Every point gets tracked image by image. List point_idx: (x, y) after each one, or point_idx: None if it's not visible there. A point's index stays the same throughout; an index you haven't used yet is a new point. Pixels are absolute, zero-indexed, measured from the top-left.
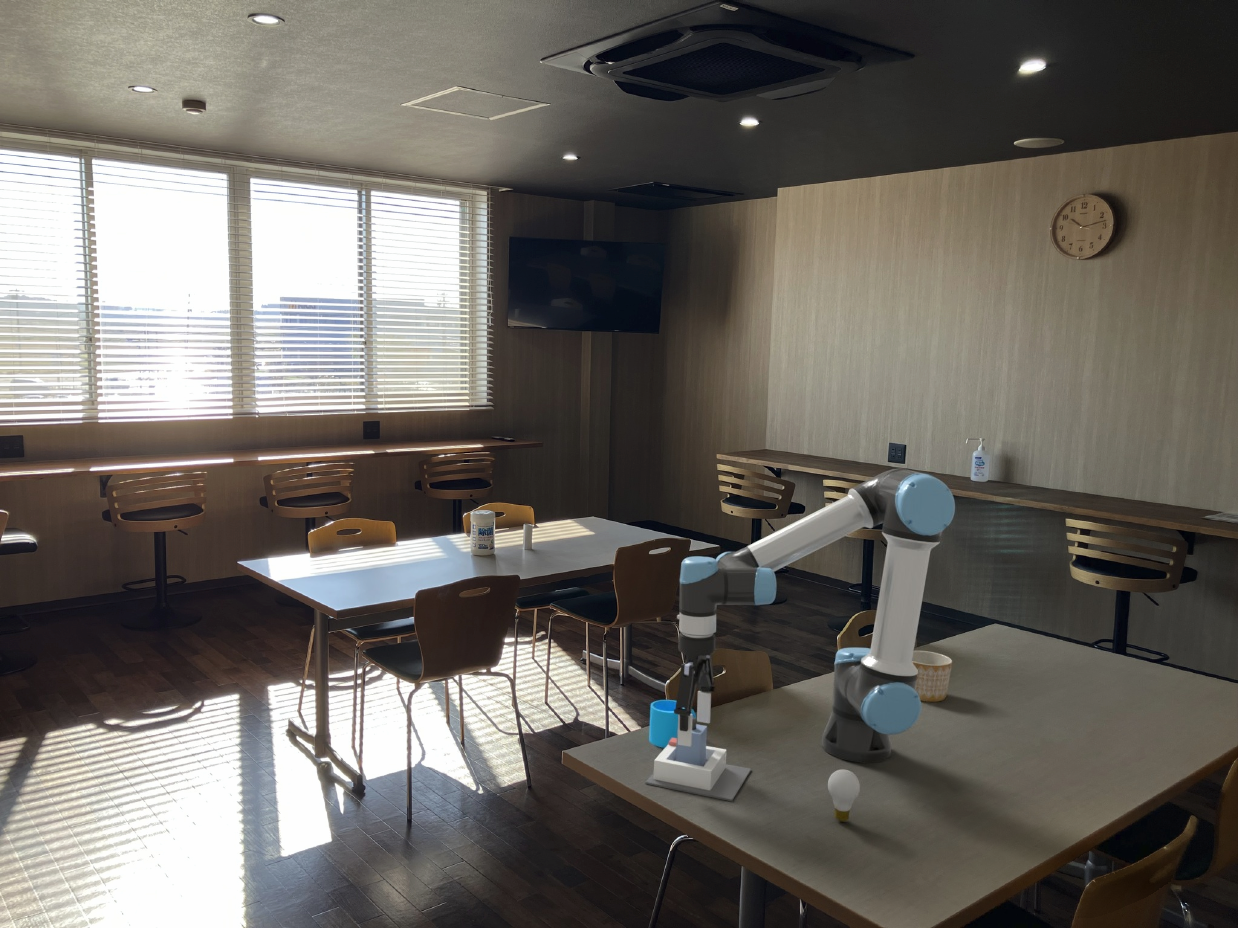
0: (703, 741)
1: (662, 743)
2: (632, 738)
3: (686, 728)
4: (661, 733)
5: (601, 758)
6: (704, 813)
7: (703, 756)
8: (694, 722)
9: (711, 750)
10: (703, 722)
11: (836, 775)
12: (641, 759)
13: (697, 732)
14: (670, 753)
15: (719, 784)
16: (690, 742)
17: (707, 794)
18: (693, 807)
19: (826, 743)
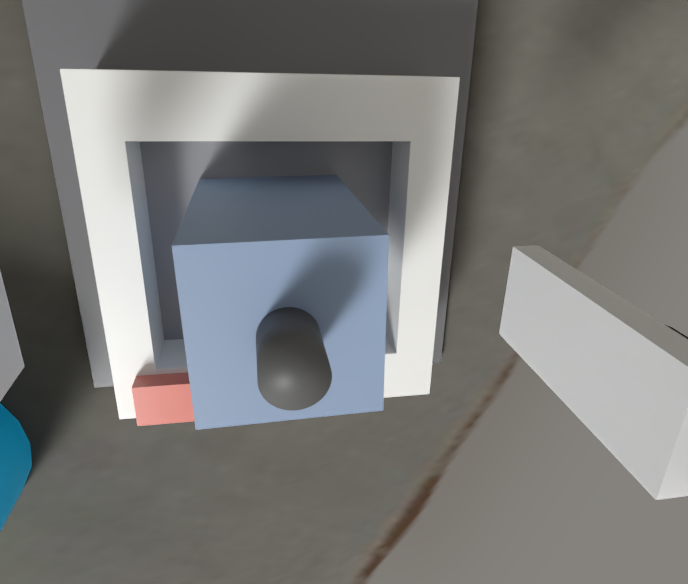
0: (276, 213)
1: (22, 454)
2: (24, 568)
3: (675, 330)
4: (2, 497)
5: (289, 563)
6: (635, 41)
7: (249, 188)
8: (317, 342)
9: (128, 169)
10: (10, 314)
11: None
12: (218, 457)
13: (361, 271)
14: None
15: (333, 46)
16: (552, 257)
17: (470, 76)
18: (590, 107)
19: None
